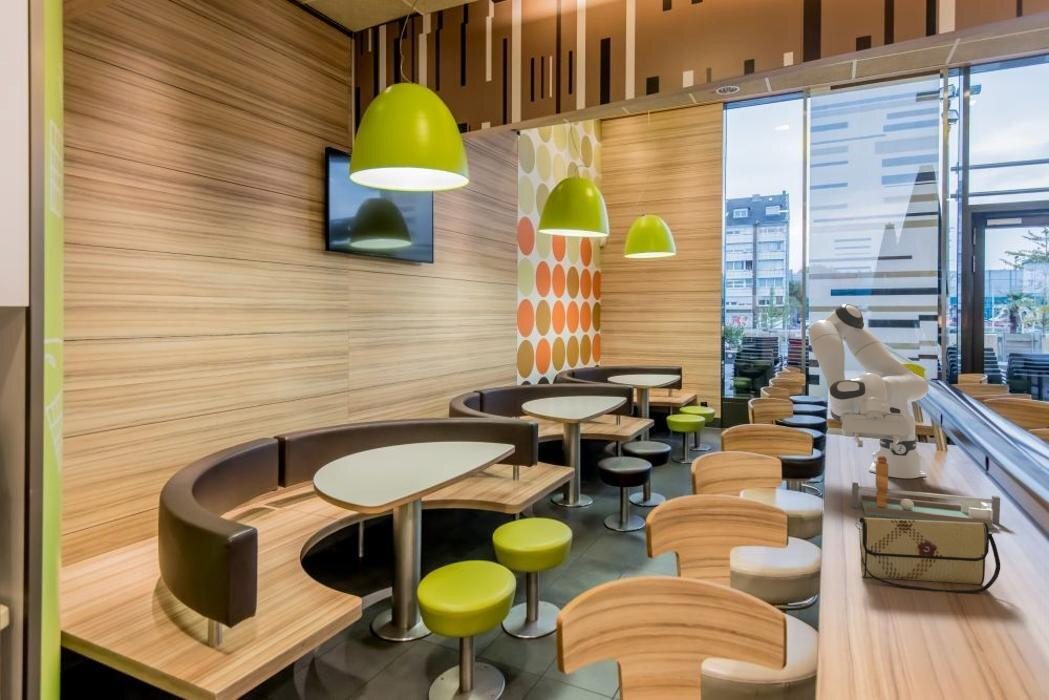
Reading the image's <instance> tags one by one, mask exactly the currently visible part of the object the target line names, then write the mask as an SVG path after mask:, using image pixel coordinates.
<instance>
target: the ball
mask: <svg viewBox="0 0 1049 700" xmlns="http://www.w3.org/2000/svg"><path fill="white" fill-rule="evenodd" d="M902 499H903V500H901V502H900V505H901V507H902V508H903V509H905V510H911V509H913V507H914V503H913V502H912V501H911V500H912V499H910V498H902Z"/></svg>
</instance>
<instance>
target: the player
mask: <svg viewBox="0 0 1049 700" xmlns="http://www.w3.org/2000/svg"><path fill="white" fill-rule="evenodd" d="M886 461H887V459H886V457H884V456H879V457H878V461H876V473H875V488H878V492H875V493H876V494H875V495H876V504H877V506H878V507H884V508H887V497H888V496H887V495H888V493H887V489H889V476H888V463H887V462H886Z"/></svg>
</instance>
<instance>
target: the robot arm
mask: <svg viewBox="0 0 1049 700" xmlns="http://www.w3.org/2000/svg"><path fill="white" fill-rule="evenodd" d="M863 317H864V316H863V314H862V312H861V311H860V310H859V309H858V308H857V307H856V306H854V305H852V304H849V303H848V304H847V303H844V304H841V305H840V306H838V307H837V308H835V310H834V311H832V312H831V313H830V314H828V316H827V317H825V318H824V319H823V320H817V321H815V322H813V323H812V324H811V325H810V328H809V331H808V332H809V333H808V334H809V335H808V337H809V343H810V346H811V349H812V352H813V354H814V357H815V359H816V361H817V364H819V367H820V370H821V372H822V374H823V377H824V378H825V380H826V383H827V386H828V390H829V399H830V400H829V401H830V415H831V418H832V419H834V420H835V421H837V422H839V423H842V424H841V434H842V436H844V437H850V438H851V437H852V438H853V440H854V442H855V443H856V445H857V448H863V445H864V443H863V442H864V441H863V440H860V438H864V439H865V438H866V439H879V448H878V449H877V450H876V451H875V452H872V459H874V460H873V461H872V463H871V465H870V467H869V470H868V471H869V472H870V473H874V474H876V461H878V457H879V456H884V457H886V459H887V461H886V462H887V463H888V478H897V479H916V478H923V477H927V474H926V472H925V471H922V463H921V461H922V460H921V454H920V453H919V452H918V451H917V450H916V449H917V439H916V419H915V417H914V416H912V415H911V413H910V410H909V407H908V403H911V402H912V403H913V402H918V401H919V400H921V399H923V398H924V397H926V396H927V394H928V393H929V390H930V389H929V388H930V387H929V384H928V381H927V380H926V378H924V377H923V376H920V375H918V374H916V373H915V372H913V371H912V370H910V369H909V368H907V367H906V366H905V365H903V363H901V362H900V361H899V360H897V359H896V358H895V357H894V356H893V355H892V354H891V353H890V351H889V350H888V348H887V347H886V346H885V345H884V344H883V343H882V342H881V341H880V339H879V338H878V337H877V336H876V335H875V334H874V333H873V332H872V331H871V330H869V329H868V328H867V327H865V323H864V318H863ZM844 342H845V344H846V346H847V347H848V349H849V351H850V353H851V354H852V356H853V357H854V358H855V360H856V361H857V362H858V363H859V365H860V366H861V367H862V368H863V370H864V371H865V373H862V374H860V376H858V377H856V378H852V379H846V378H845V359H846V358H845V357H846V355H845V347H844V346H845V345H844Z"/></svg>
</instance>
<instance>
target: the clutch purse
mask: <svg viewBox="0 0 1049 700" xmlns="http://www.w3.org/2000/svg"><path fill="white" fill-rule="evenodd" d="M858 522H859V523H855V527H856V528H857V529H858V530H859V550H860V573H861V576H862V577H863V578H873V579H875V580H876V581H879V582H881V583H882V584H883V583H884V584H886V585H889V586H894V587H899V588H903V589H911V590H921V591H928V592H933V593H935V592H937V593H952V594H975V593H976V594H977V593H982V592H985V591H986V590H988V589H990V587H992V585H993V584H994V583H995V582H996V581H997V579H998V577H999V575H1000V570H1001V559H1000V556H999V551H998V548H997V545H996V542H995V539H994V537H993V533H994V531H993V530H992V529H988V526H987V524H986V523H975V522H952V521H930V520H908V519H899V518H886V517H884V518H883V517H881V518H879V517H863V516H862V517H859V521H858ZM857 525H858V526H859V527H858V526H857ZM860 527H861V528H860ZM990 532H991V533H990ZM989 546H991V549H992V553H993V558H994V561H995V569H994V573H993V576H992V577H991V578H990V580H989V581H987V583H986V584H984V582H985V575H986V574H985V573H986V557H987V556H988V554H989V549H990V547H989ZM881 578H883V579H881ZM884 579H896V580H897V579H898V580H914V581H915V580H916V581H926V582H927V581H929V582H931V581H932V582H944V583H945V582H946V583H961V584H962V583H963V584H976V585H983V584H984V586H983V587H981V588H978V589H969V590H967V589H966V590H965V589H964V590H960V589H959V590H958V589H957V590H956V589H955V590H954V589H953V590H952V589H940V588H938V589H936V588H929V587H923V586H913V585H907V584H899V583H896V582H895V583H894V582H891V581H887V580H884Z"/></svg>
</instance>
